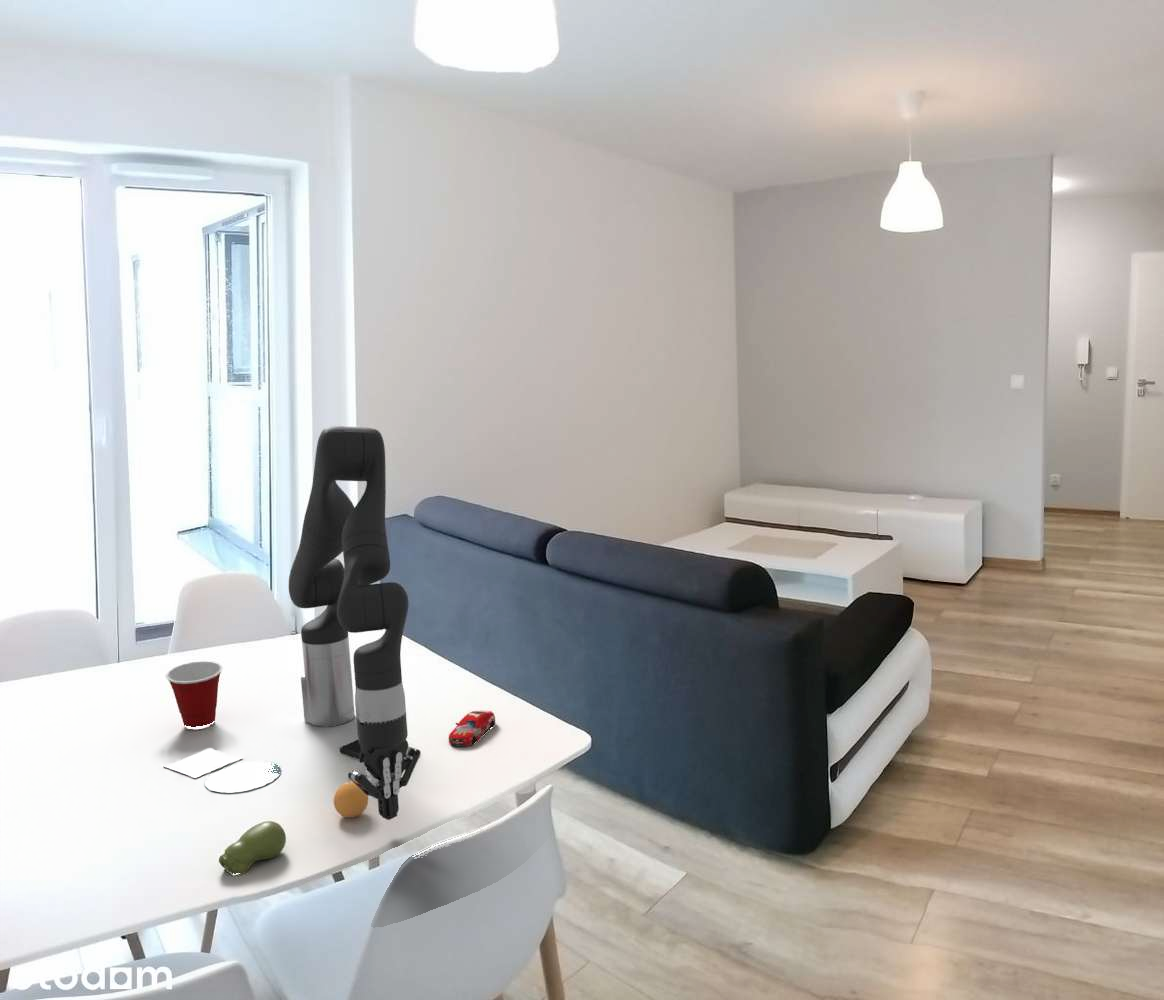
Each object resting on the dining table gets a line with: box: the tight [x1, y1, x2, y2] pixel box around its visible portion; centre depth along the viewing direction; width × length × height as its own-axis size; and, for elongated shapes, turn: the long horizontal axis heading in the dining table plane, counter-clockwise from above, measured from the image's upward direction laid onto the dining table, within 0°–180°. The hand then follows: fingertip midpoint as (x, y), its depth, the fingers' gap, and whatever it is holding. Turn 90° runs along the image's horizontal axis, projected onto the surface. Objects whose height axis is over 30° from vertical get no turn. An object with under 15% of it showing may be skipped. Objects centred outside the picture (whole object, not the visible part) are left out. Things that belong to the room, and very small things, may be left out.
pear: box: [218, 820, 287, 874], centre depth 148 cm, size 6×5×10 cm
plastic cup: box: [165, 660, 223, 727], centre depth 203 cm, size 11×11×12 cm
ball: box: [333, 781, 369, 818], centre depth 162 cm, size 6×6×6 cm
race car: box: [448, 709, 496, 747], centre depth 194 cm, size 13×5×4 cm, turn 158°
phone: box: [338, 739, 361, 760], centre depth 186 cm, size 8×1×15 cm
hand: (389, 817), depth 156 cm, fingers closed
